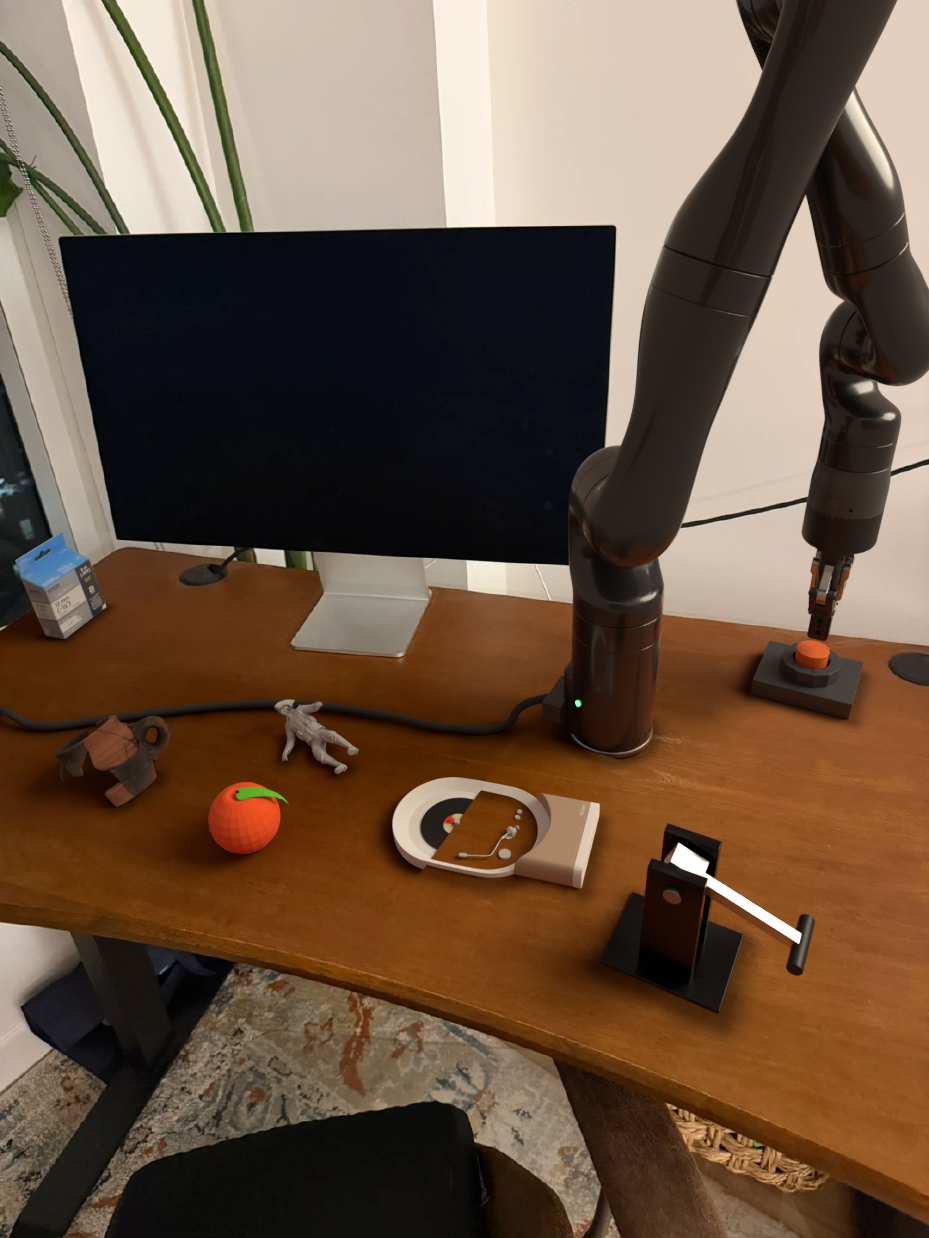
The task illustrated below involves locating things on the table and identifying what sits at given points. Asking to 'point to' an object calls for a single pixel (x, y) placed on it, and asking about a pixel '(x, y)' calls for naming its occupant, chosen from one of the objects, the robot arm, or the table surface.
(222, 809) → the clementine
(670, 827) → the bracket
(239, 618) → the table surface
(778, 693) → the button box
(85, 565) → the label tape box
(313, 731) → the soldier figure
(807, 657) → the button
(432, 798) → the record player
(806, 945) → the lever
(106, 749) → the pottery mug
